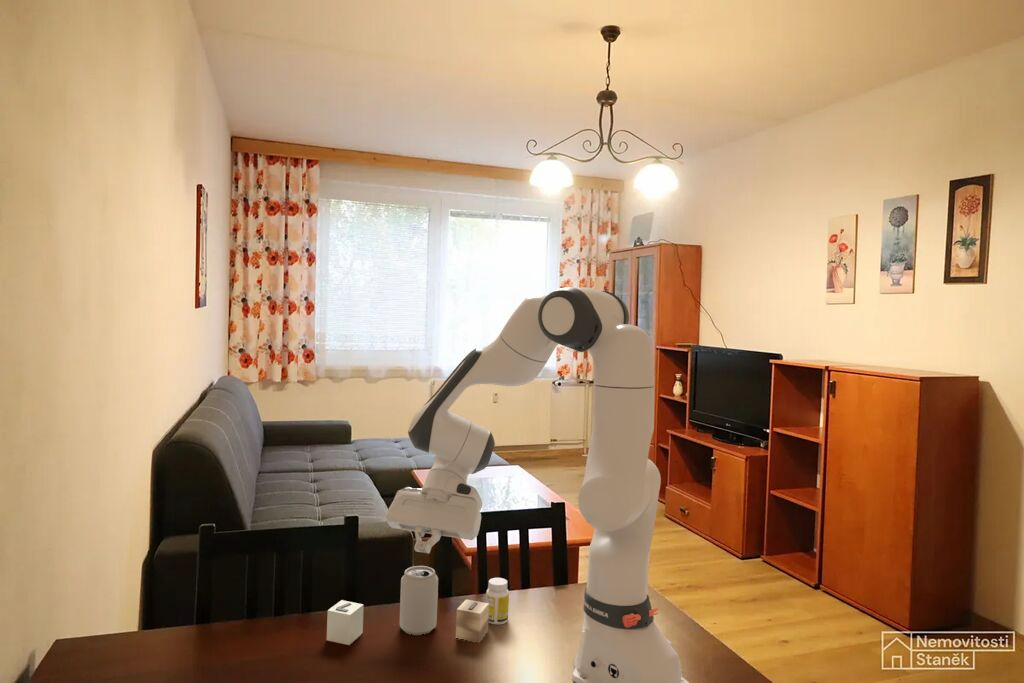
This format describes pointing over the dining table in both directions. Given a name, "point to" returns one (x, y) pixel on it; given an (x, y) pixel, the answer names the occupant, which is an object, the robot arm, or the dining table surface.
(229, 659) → the dining table surface
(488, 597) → the supplement bottle
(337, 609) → the cream white block seven
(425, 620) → the can
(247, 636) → the dining table surface
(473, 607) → the birch block one
